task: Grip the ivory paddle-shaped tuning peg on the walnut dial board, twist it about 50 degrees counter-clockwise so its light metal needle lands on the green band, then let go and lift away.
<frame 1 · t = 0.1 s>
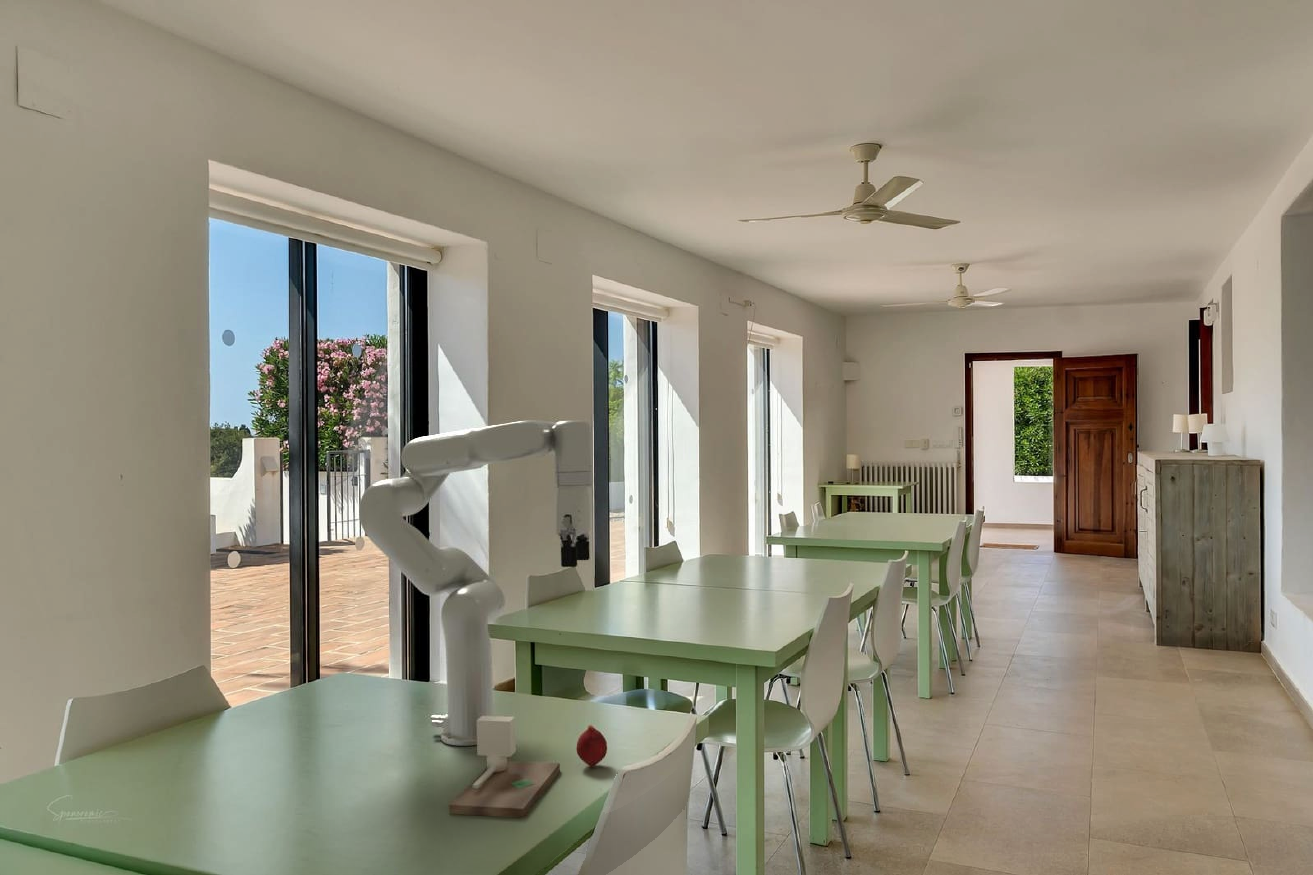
hand: (575, 563, 188), 37 cm above the table, tool pointing down, fingers open, 9 cm apart
tuning peg: (487, 751, 164), point 7 cm above the table, hinge at 0.0°
dial board: (507, 791, 162), on the table
onion: (592, 767, 173), on the table
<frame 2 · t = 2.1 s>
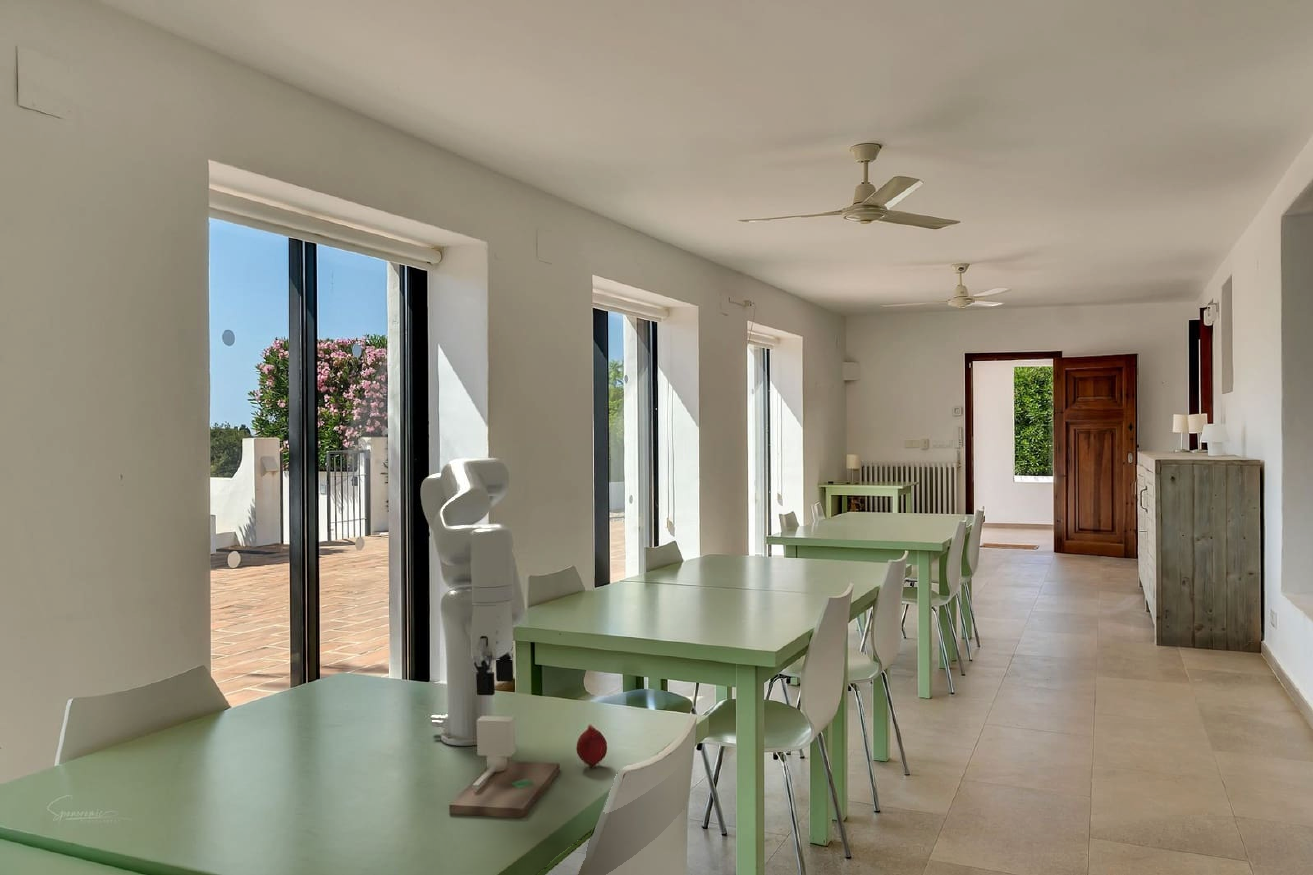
hand: (495, 687, 168), 17 cm above the table, tool pointing down, fingers open, 9 cm apart
nothing on the table moved.
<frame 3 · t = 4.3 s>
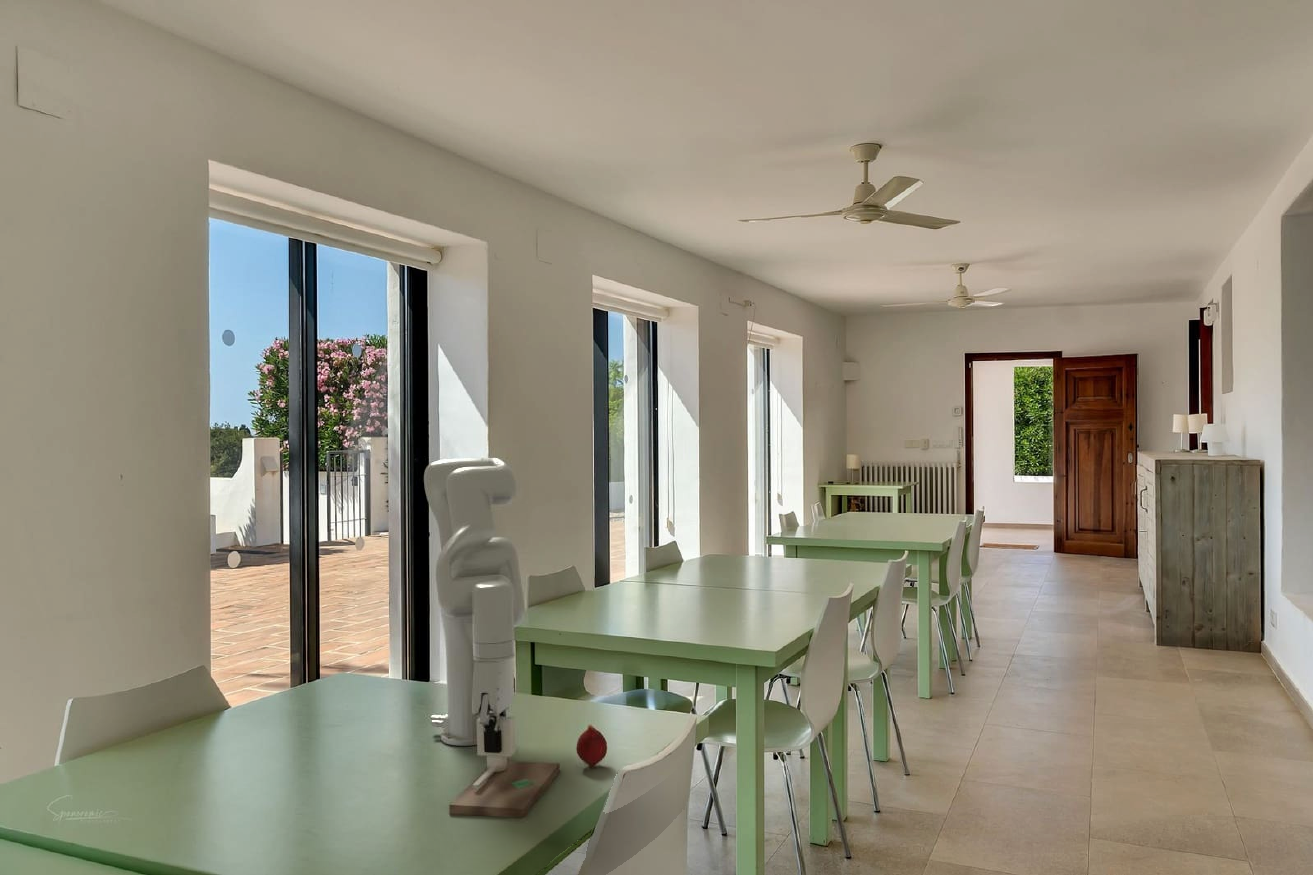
hand: (496, 747, 168), 6 cm above the table, tool pointing down, fingers closed on tuning peg, 2 cm apart
tuning peg: (487, 751, 164), point 6 cm above the table, hinge at 0.0°, touching gripper
everything else where it was.
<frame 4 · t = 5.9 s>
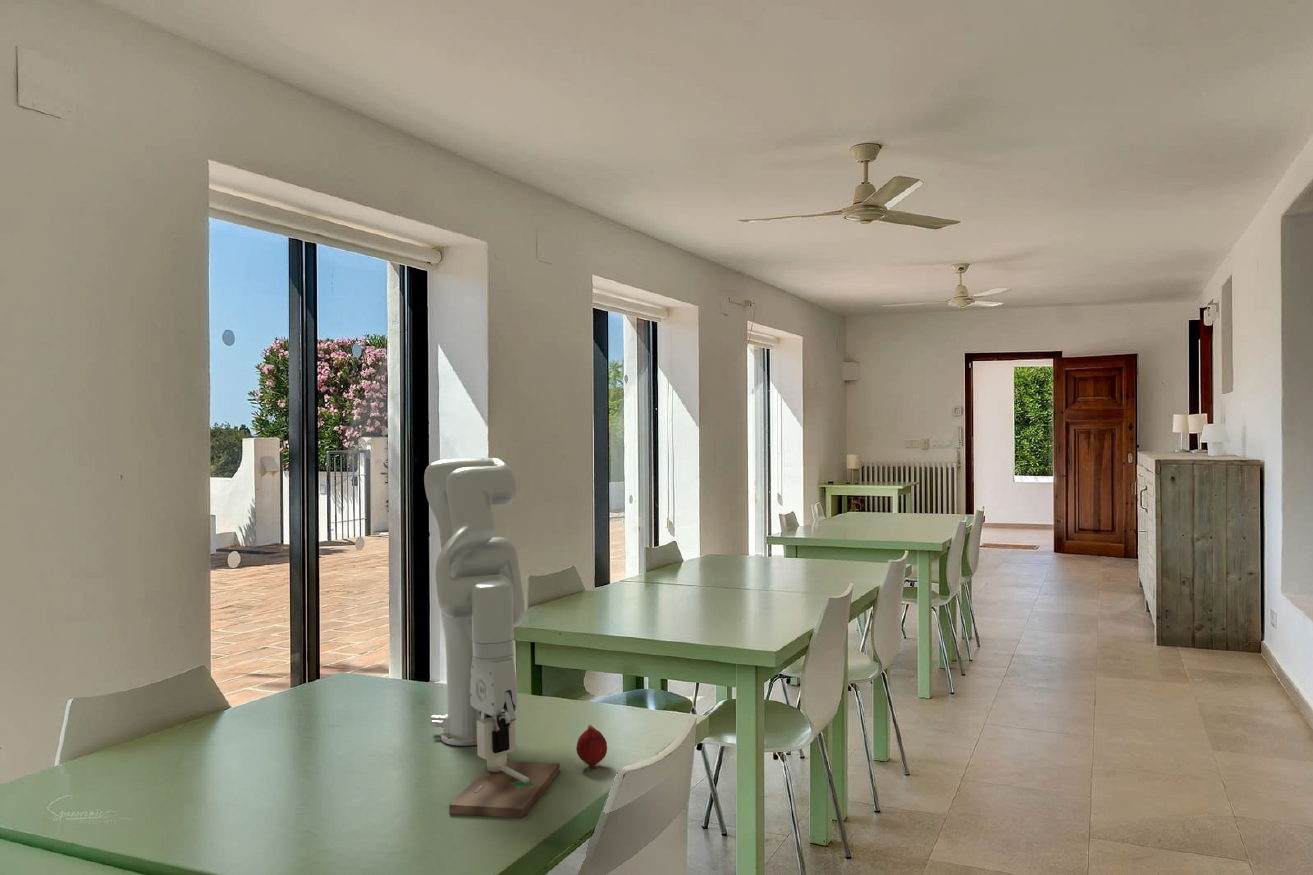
hand: (496, 747, 168), 6 cm above the table, tool pointing down, fingers closed on tuning peg, 2 cm apart
tuning peg: (508, 749, 165), point 6 cm above the table, hinge at 49.6°, touching gripper
everything else where it was.
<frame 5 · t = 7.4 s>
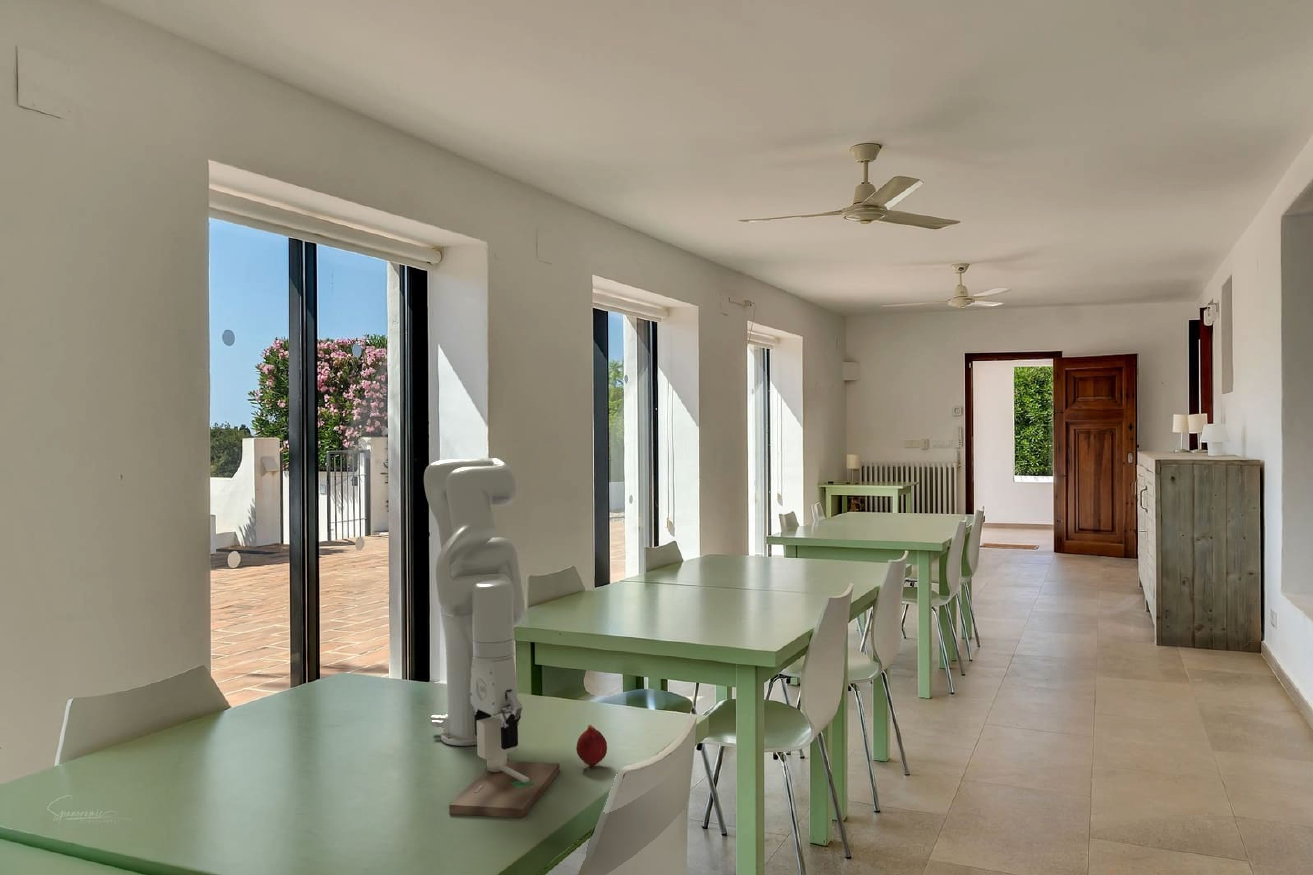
hand: (496, 740, 168), 7 cm above the table, tool pointing down, fingers open, 9 cm apart
tuning peg: (508, 749, 165), point 7 cm above the table, hinge at 49.8°
everything else where it was.
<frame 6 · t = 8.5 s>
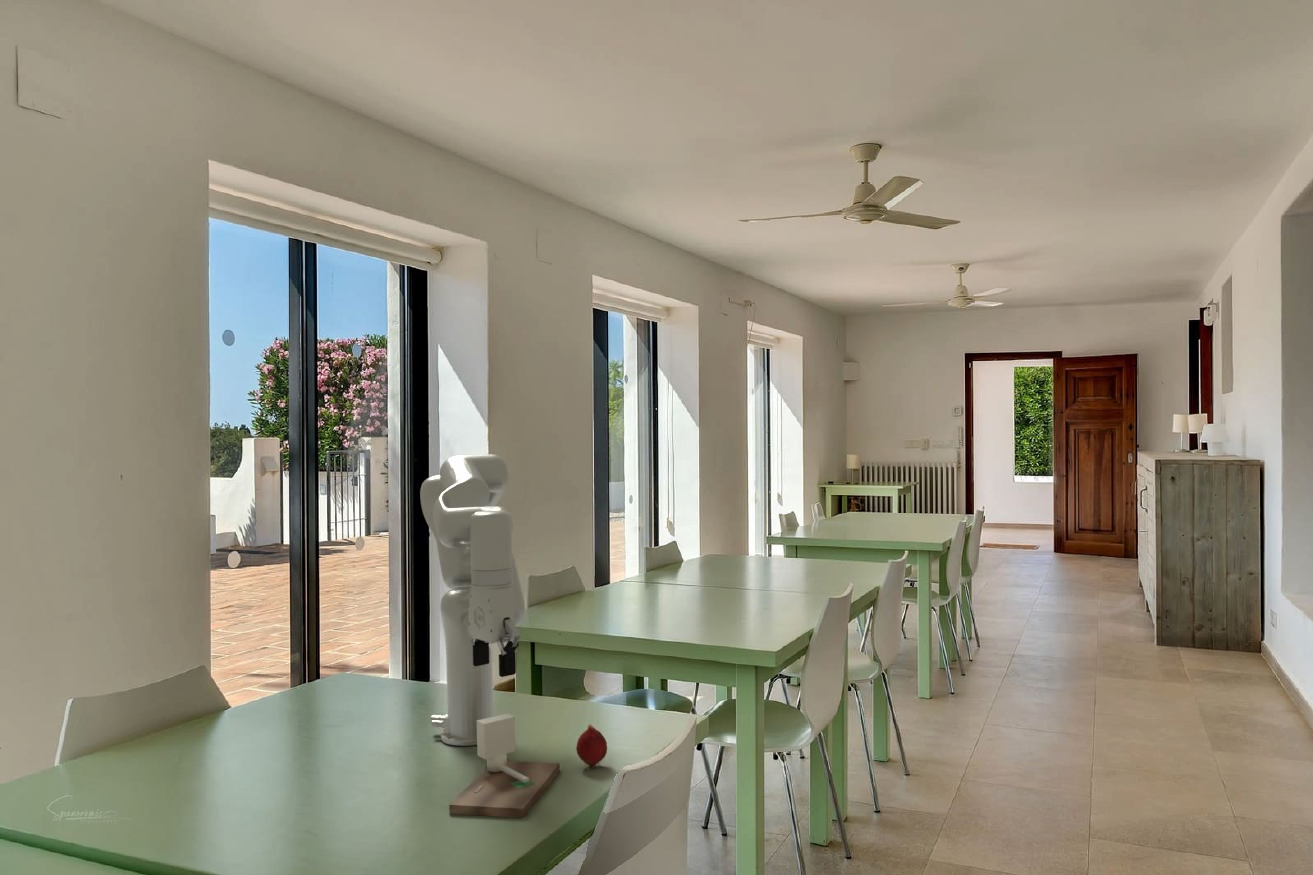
hand: (494, 670, 168), 20 cm above the table, tool pointing down, fingers open, 9 cm apart
nothing on the table moved.
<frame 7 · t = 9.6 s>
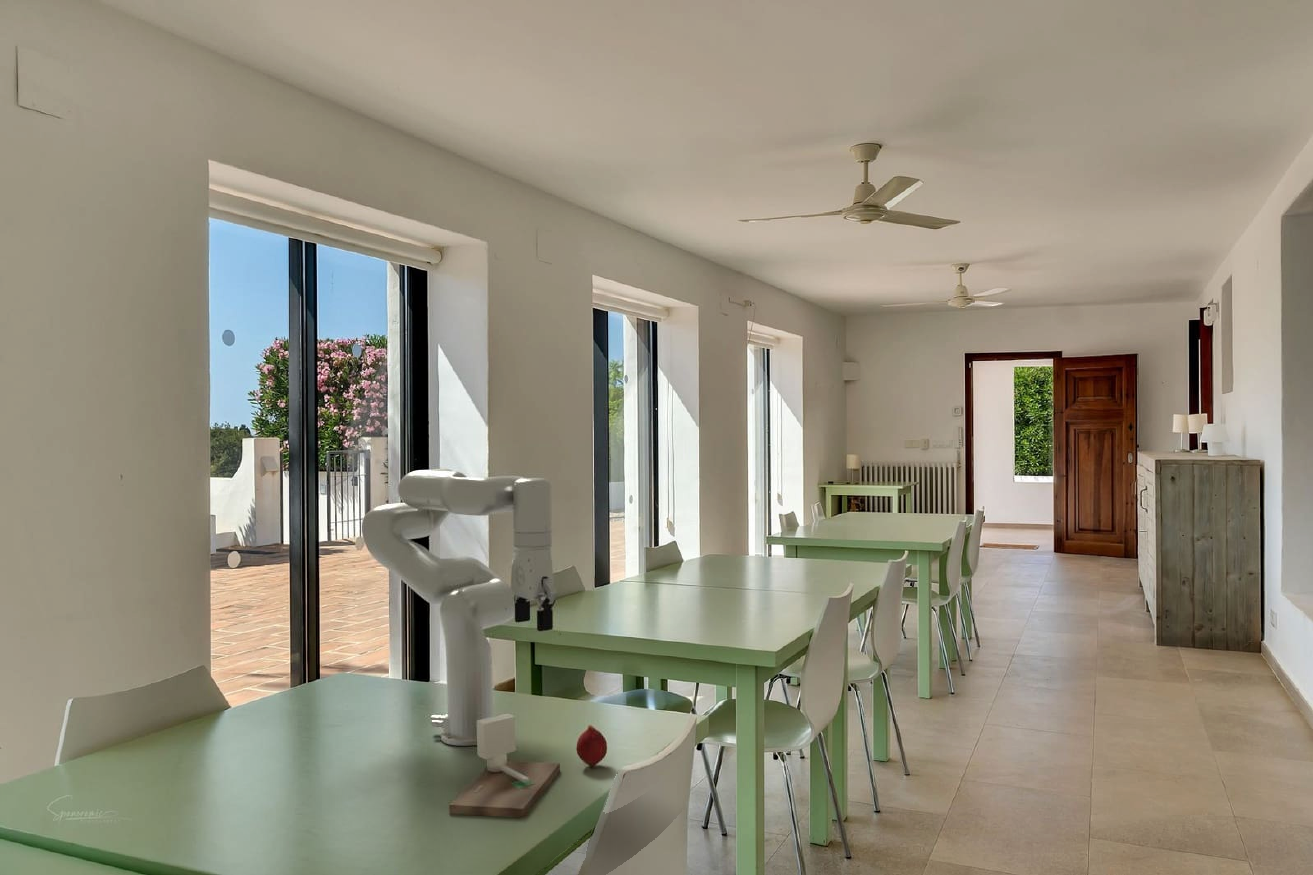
hand: (533, 625, 182), 25 cm above the table, tool pointing down, fingers open, 9 cm apart
nothing on the table moved.
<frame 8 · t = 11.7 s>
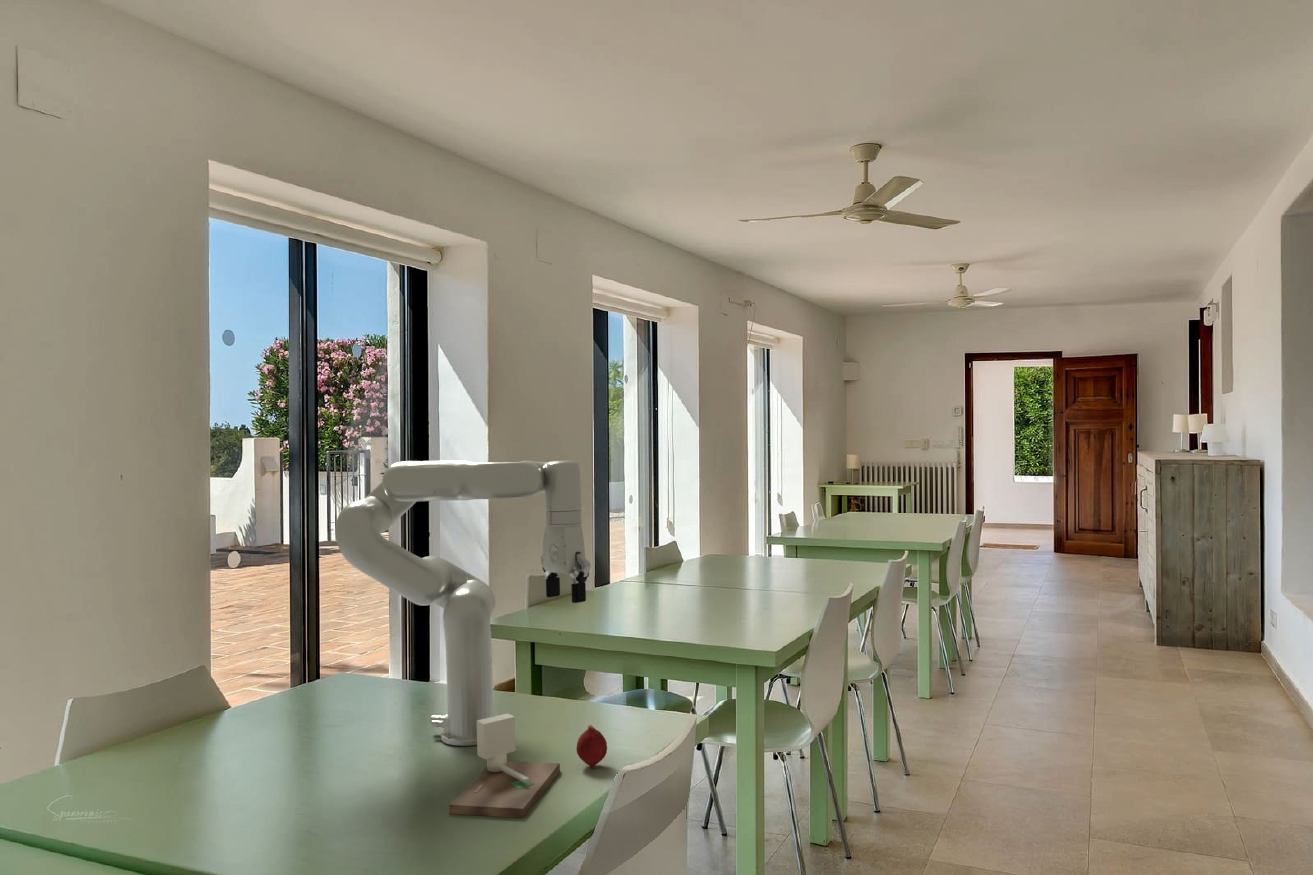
hand: (565, 599, 193), 28 cm above the table, tool pointing down, fingers open, 9 cm apart
nothing on the table moved.
at the end: tuning peg at +50° (first picture: +0°); the gripper is holding nothing; onion moved 0.2 cm from its start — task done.
